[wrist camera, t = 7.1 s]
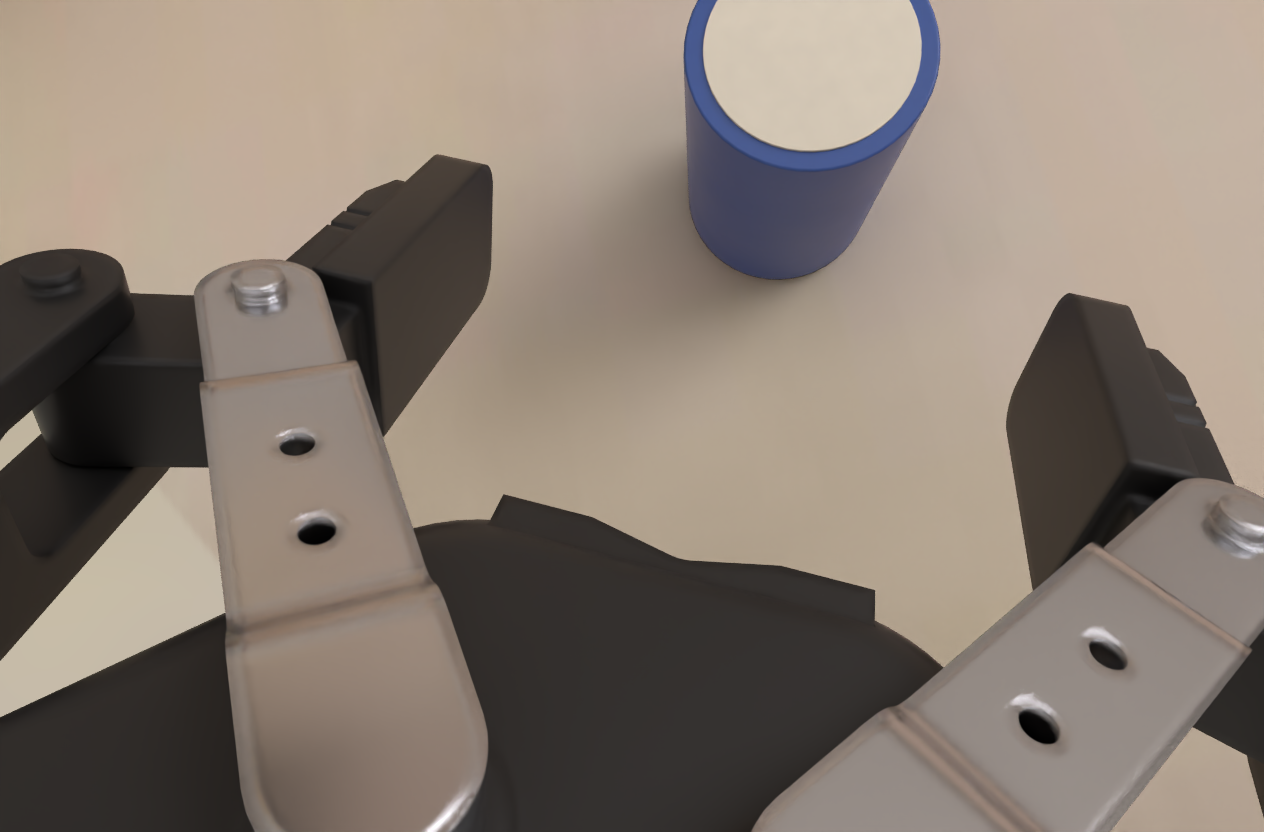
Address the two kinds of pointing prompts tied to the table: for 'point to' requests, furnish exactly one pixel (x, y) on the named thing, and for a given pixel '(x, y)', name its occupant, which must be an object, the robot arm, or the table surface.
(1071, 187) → the table surface
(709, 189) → the blue cylinder with handle
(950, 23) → the table surface
